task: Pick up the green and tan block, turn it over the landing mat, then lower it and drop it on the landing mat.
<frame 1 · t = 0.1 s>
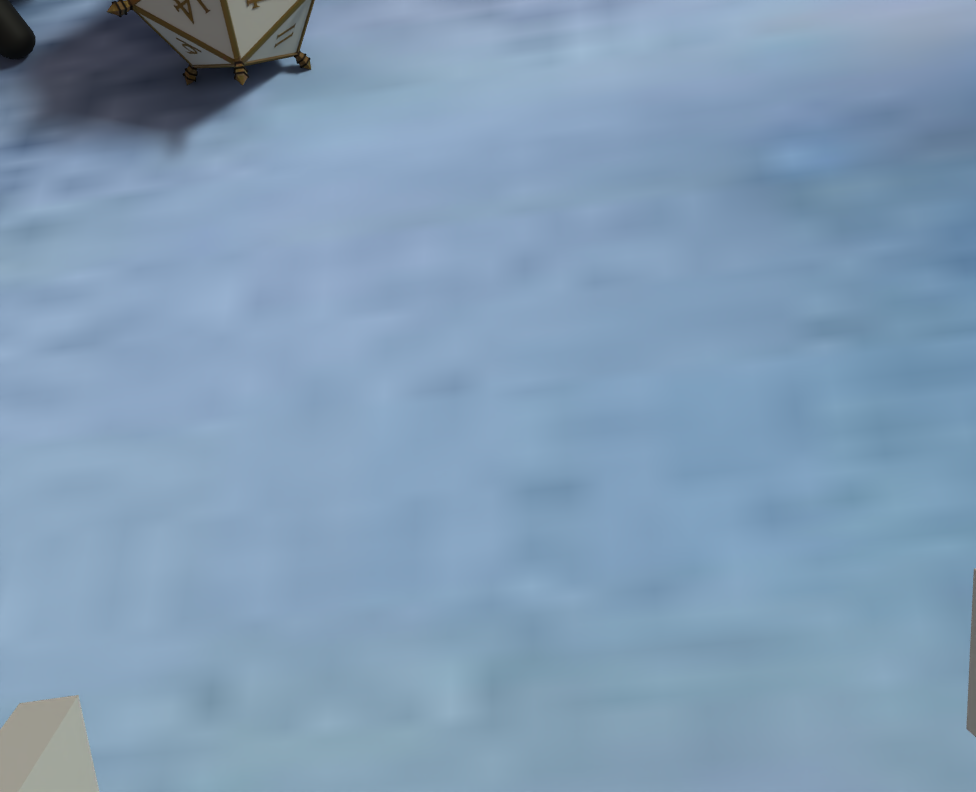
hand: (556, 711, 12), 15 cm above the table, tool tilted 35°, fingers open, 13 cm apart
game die: (247, 54, 37), on the table
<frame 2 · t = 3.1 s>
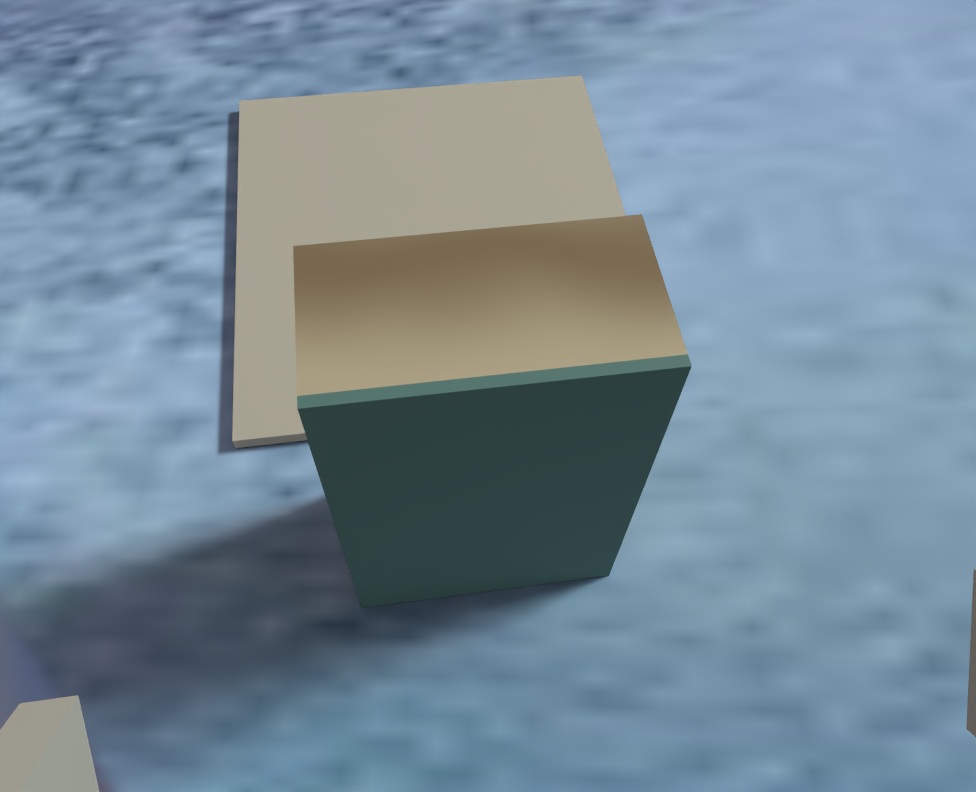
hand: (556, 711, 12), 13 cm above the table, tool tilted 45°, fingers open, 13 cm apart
green and tan block: (477, 525, 28), on the table
landing mat: (435, 237, 35), on the table
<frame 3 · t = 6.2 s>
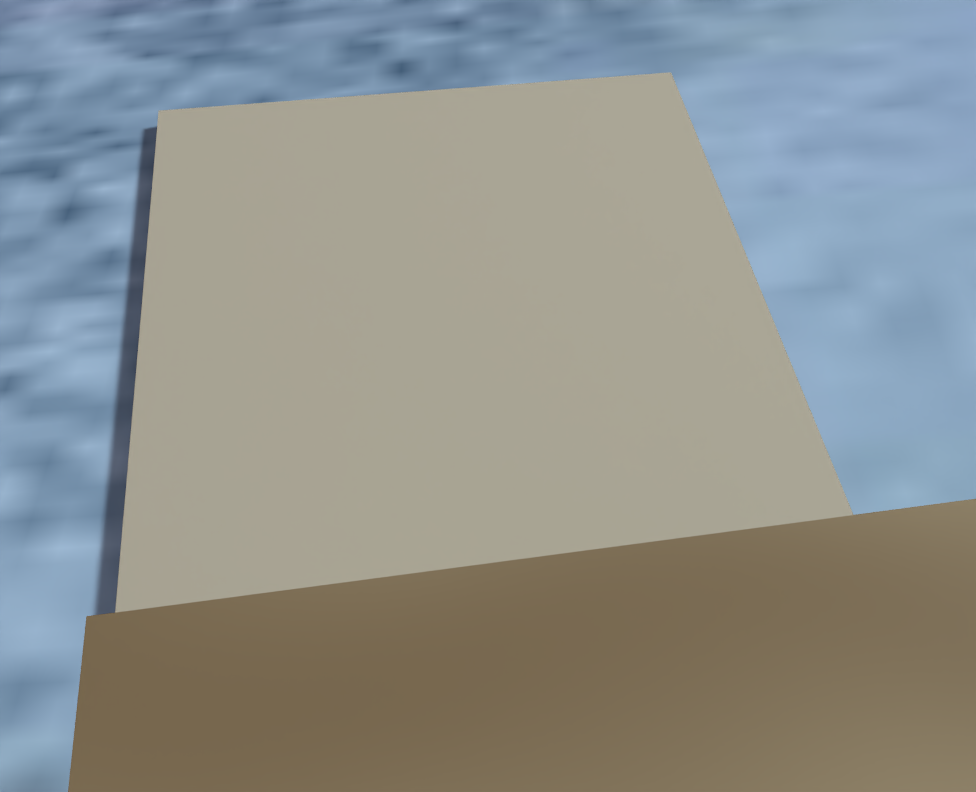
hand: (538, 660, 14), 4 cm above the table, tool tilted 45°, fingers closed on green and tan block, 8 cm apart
landing mat: (460, 330, 22), on the table
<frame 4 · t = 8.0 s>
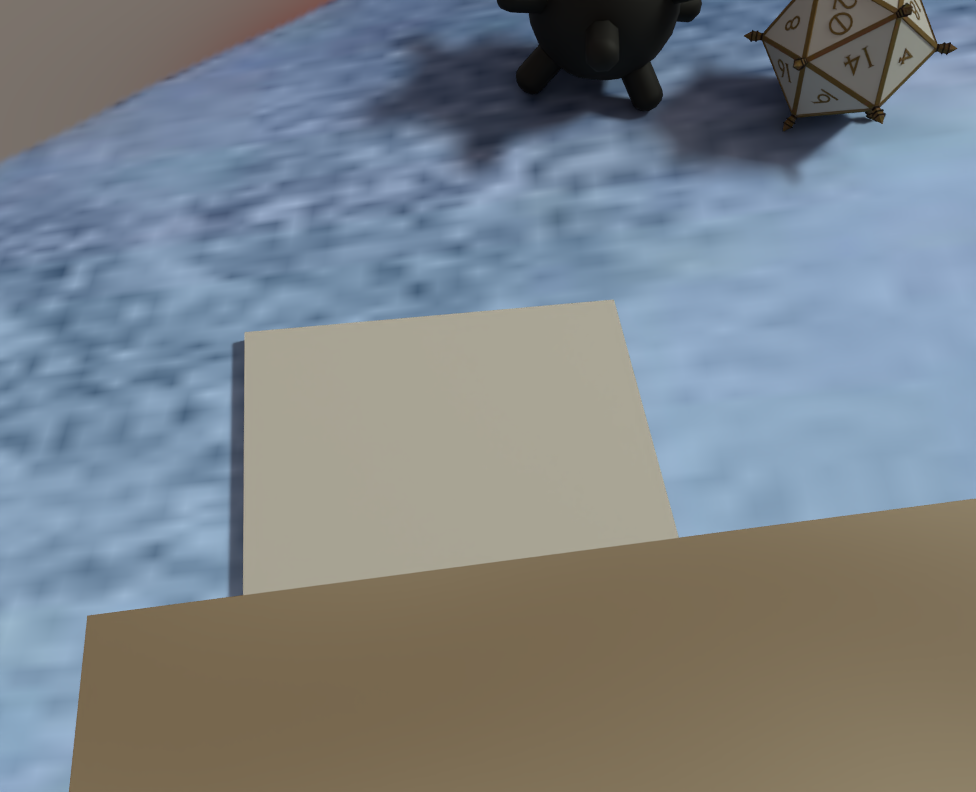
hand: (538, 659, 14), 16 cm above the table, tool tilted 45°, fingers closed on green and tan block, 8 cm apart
toy ball: (583, 74, 46), on the table
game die: (815, 109, 46), on the table
landing mat: (459, 511, 32), on the table
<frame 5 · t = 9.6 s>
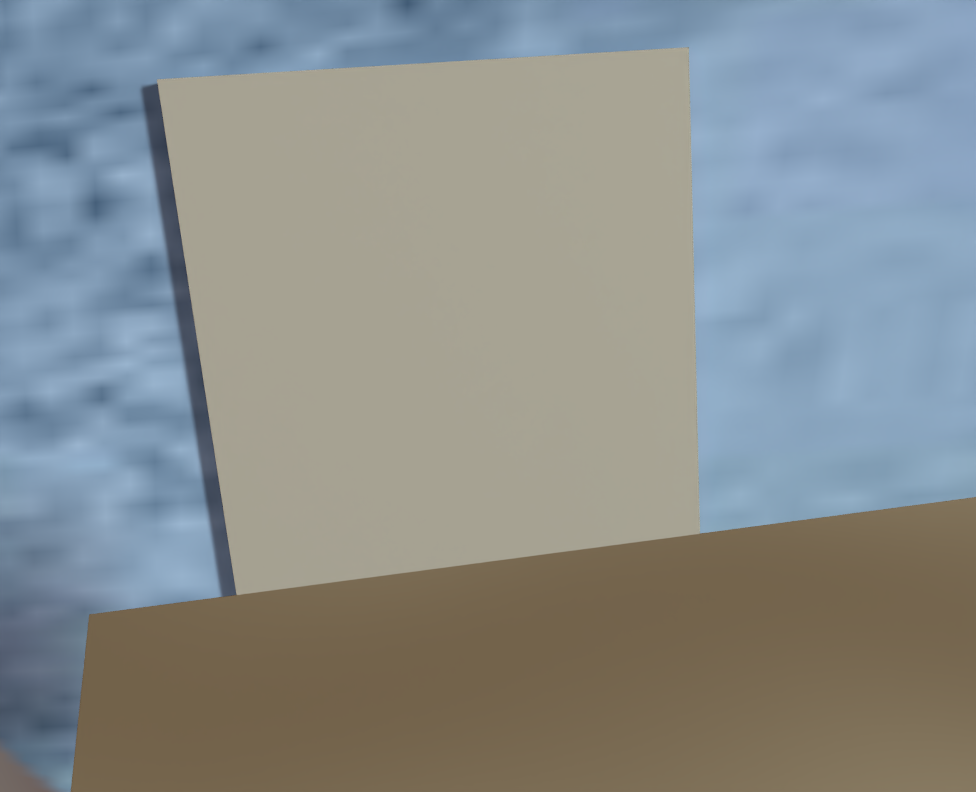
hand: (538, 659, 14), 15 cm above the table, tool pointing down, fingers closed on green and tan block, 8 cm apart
landing mat: (455, 354, 28), on the table
when the fingers open (3 cm above the table, at t = 12.4 s): green and tan block moves 1 cm and tips over, resting on landing mat.
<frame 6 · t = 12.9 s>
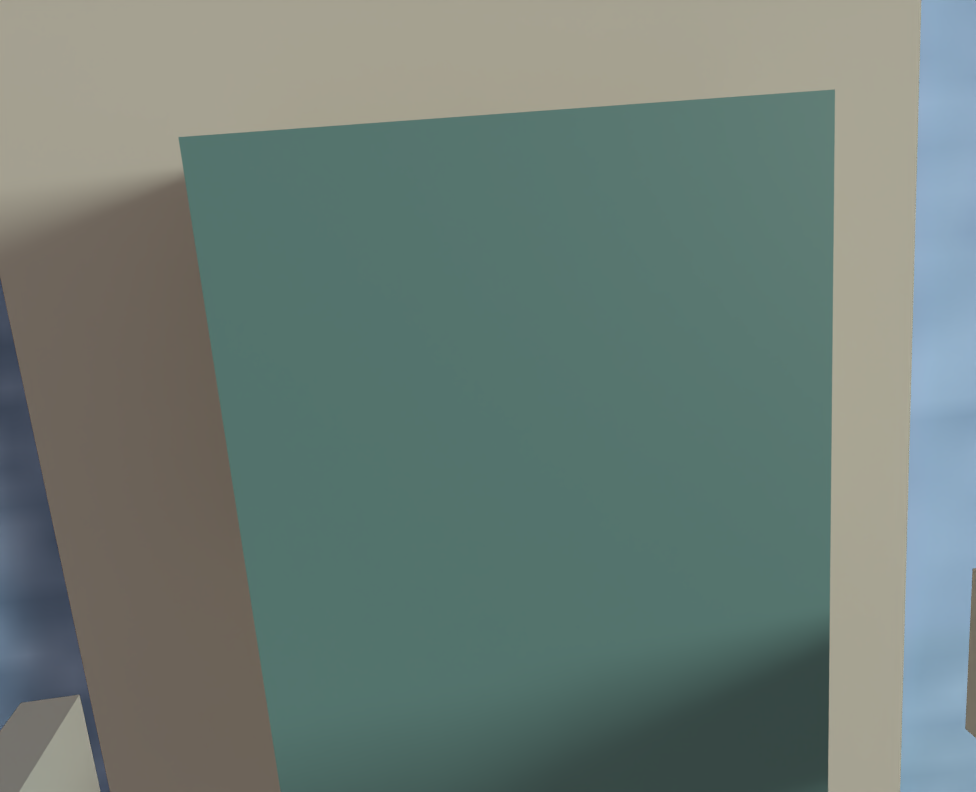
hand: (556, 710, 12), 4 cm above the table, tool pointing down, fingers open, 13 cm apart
landing mat: (501, 484, 16), on the table
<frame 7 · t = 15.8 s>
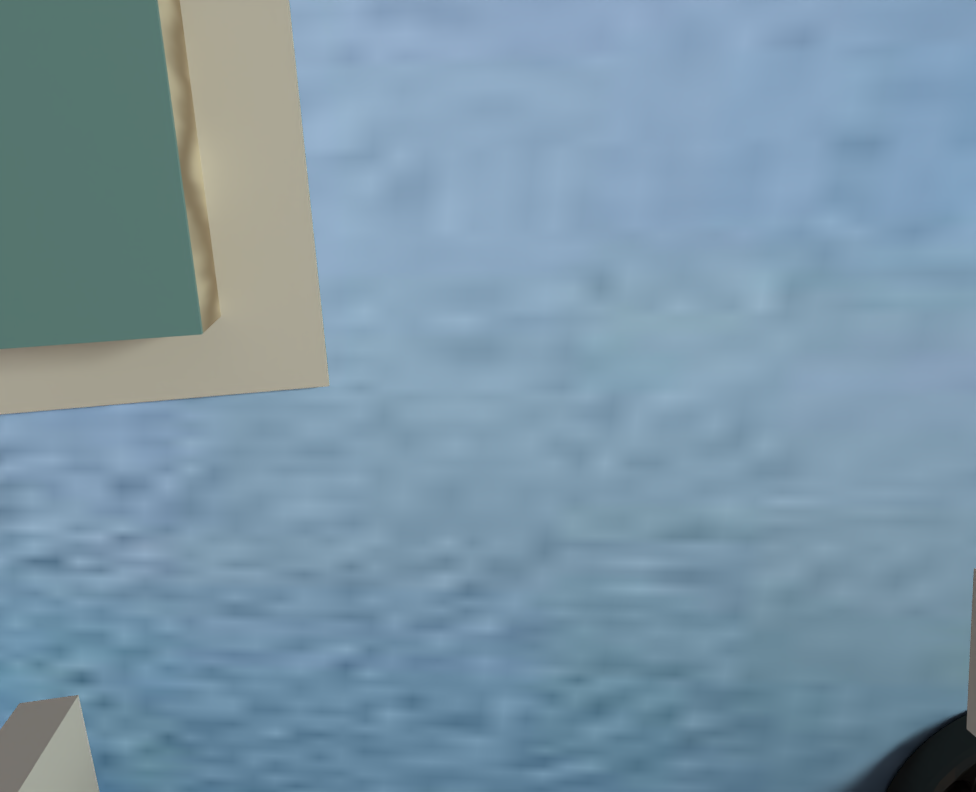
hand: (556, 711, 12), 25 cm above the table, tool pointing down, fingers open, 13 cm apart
green and tan block: (103, 331, 32), point 2 cm above the table, tilted 90°, touching landing mat
landing mat: (97, 176, 33), on the table
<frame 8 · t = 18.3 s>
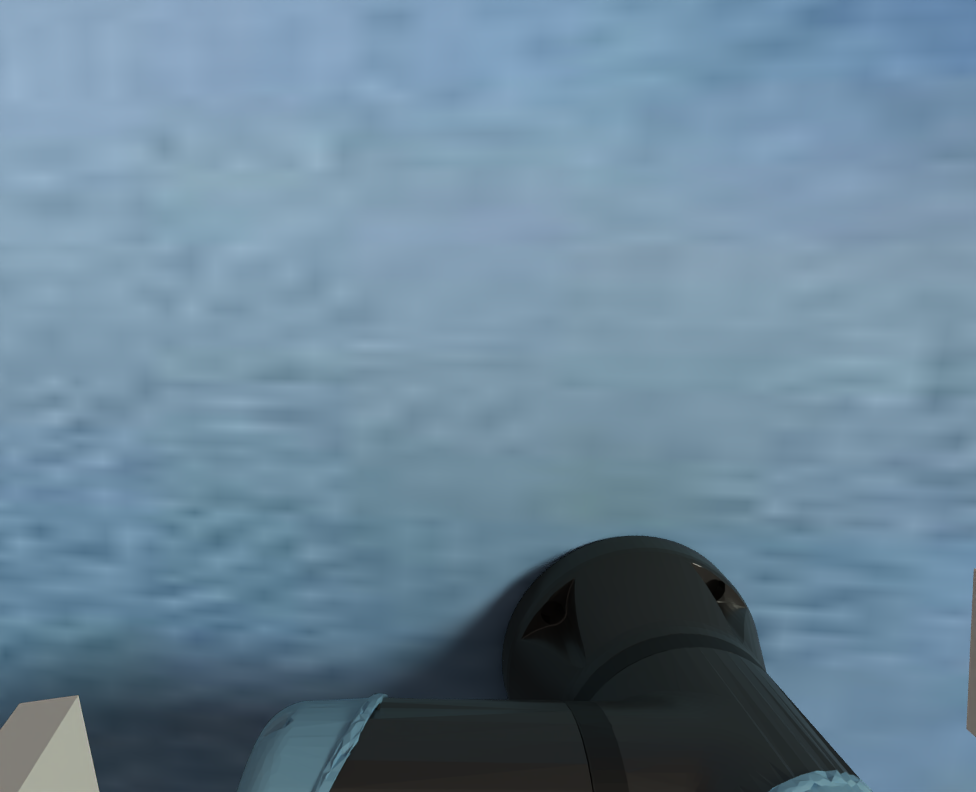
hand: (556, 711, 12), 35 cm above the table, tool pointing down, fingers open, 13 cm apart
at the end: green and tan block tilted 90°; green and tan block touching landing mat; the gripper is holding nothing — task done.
